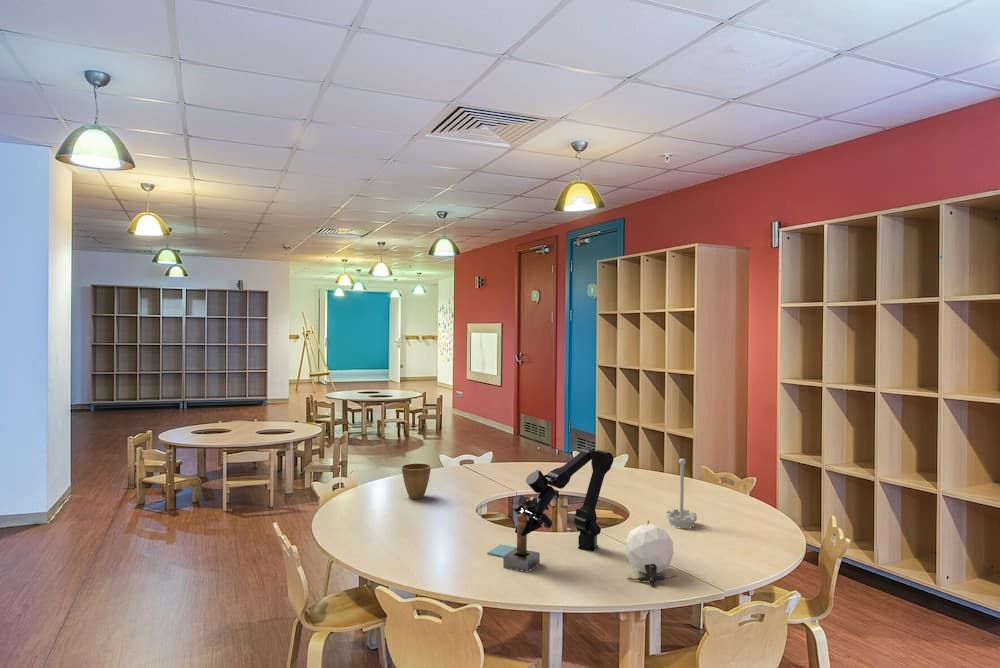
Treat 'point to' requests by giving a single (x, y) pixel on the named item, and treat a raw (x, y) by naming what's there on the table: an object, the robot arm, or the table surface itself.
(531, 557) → the block
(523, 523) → the brown wooden pin
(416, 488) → the plant pot
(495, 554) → the blue square plate
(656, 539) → the white faceted globe lamp
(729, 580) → the table surface
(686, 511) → the flag stand
